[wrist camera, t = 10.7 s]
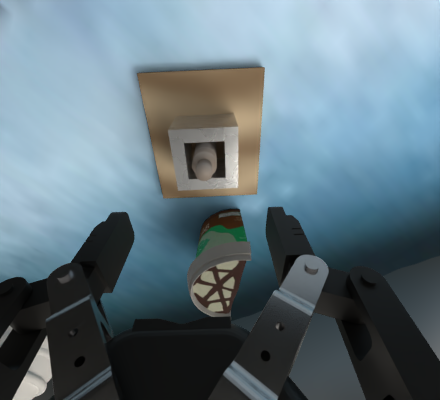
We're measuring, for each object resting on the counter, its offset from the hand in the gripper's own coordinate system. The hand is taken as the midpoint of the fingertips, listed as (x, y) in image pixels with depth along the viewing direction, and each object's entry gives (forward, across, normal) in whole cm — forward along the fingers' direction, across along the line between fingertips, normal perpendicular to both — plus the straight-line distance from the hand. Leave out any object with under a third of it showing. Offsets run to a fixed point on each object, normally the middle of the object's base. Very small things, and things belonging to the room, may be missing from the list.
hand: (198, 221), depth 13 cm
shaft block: (+15, 0, 0) cm, 15 cm away
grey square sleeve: (+14, 0, 0) cm, 14 cm away
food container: (+15, 0, +14) cm, 21 cm away
